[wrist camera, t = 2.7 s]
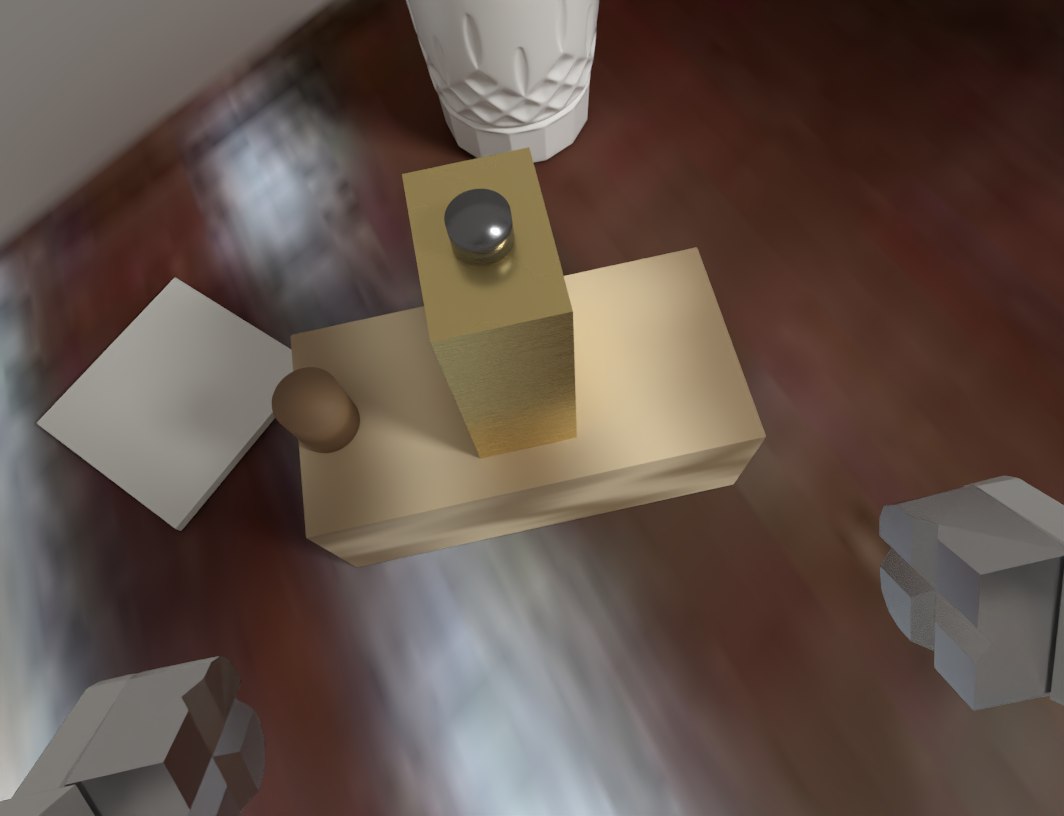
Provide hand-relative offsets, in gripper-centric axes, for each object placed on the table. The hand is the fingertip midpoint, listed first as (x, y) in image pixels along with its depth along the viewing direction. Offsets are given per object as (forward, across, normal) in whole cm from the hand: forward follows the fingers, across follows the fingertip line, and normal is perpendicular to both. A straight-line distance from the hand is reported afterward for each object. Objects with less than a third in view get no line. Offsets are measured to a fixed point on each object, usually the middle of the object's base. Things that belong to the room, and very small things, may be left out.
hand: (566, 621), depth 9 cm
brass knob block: (+14, 0, +2) cm, 14 cm away
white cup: (+29, -3, -6) cm, 30 cm away
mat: (+21, +13, +2) cm, 25 cm away
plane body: (+17, 0, +5) cm, 18 cm away
